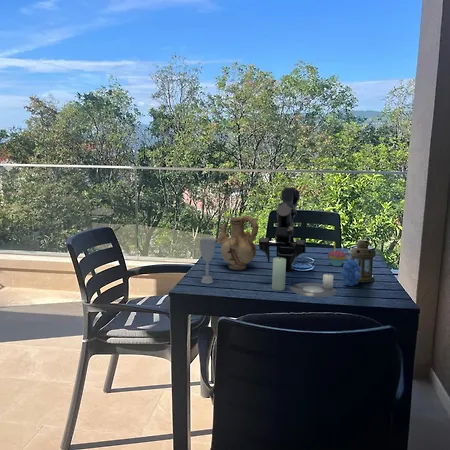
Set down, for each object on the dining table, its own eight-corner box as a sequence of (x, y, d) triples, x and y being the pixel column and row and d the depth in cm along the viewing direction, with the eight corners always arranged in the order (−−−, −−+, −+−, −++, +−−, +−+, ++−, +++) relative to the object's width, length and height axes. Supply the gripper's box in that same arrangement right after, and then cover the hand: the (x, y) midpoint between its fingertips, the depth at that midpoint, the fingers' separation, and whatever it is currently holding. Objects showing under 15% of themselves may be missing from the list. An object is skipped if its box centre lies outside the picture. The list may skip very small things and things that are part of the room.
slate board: (304, 282, 190) (304, 279, 190) (344, 292, 179) (345, 288, 179) (281, 293, 176) (281, 289, 176) (323, 303, 165) (323, 300, 165)
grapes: (350, 292, 178) (352, 263, 176) (336, 288, 184) (338, 259, 182) (368, 287, 186) (370, 259, 183) (354, 283, 191) (356, 255, 189)
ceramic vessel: (251, 262, 223) (253, 211, 219) (263, 272, 205) (265, 217, 200) (215, 263, 219) (215, 212, 215) (223, 274, 200) (224, 218, 196)
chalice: (218, 280, 191) (218, 238, 188) (212, 284, 185) (213, 241, 182) (201, 278, 194) (202, 236, 191) (195, 282, 187) (196, 239, 184)
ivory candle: (325, 285, 183) (326, 271, 182) (334, 287, 181) (335, 273, 180) (320, 287, 180) (321, 273, 179) (329, 289, 178) (330, 275, 177)
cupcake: (326, 266, 218) (327, 241, 216) (328, 262, 226) (330, 238, 224) (344, 268, 215) (346, 243, 213) (346, 264, 223) (348, 240, 221)
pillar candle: (276, 288, 182) (277, 254, 180) (287, 291, 179) (288, 256, 176) (269, 291, 178) (270, 257, 176) (280, 294, 175) (281, 259, 173)
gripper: (260, 217, 184) (255, 250, 176) (306, 220, 181) (304, 253, 172) (262, 233, 193) (257, 265, 184) (306, 236, 190) (304, 268, 181)
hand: (280, 262), depth 180 cm, fingers open, 9 cm apart
